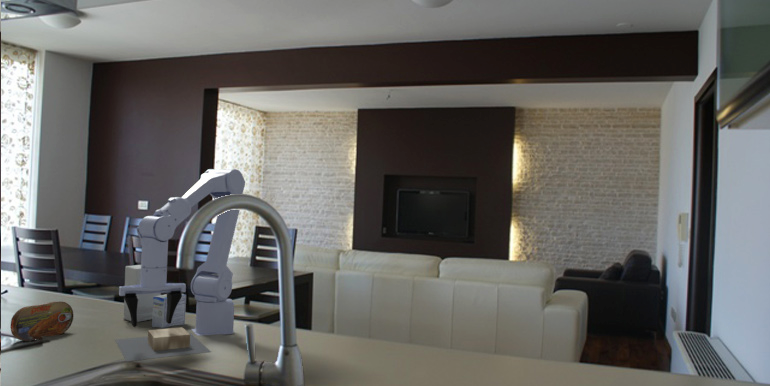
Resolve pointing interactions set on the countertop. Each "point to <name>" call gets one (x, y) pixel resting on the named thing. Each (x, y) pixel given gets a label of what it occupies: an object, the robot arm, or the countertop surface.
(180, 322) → the medicine box
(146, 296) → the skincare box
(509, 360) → the countertop surface
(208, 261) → the robot arm
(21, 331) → the tin
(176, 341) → the tan flat block
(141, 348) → the mat
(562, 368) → the countertop surface
